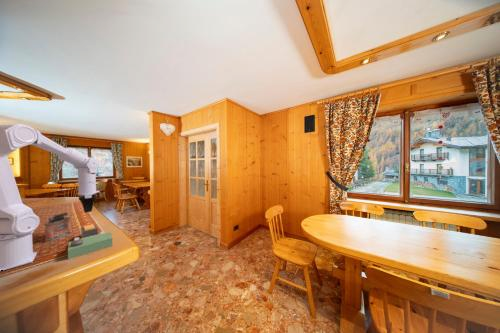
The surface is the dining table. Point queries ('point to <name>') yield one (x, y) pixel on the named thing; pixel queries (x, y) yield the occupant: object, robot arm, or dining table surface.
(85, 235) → the grey box orange face
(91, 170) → the robot arm
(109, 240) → the deck
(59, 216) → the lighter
